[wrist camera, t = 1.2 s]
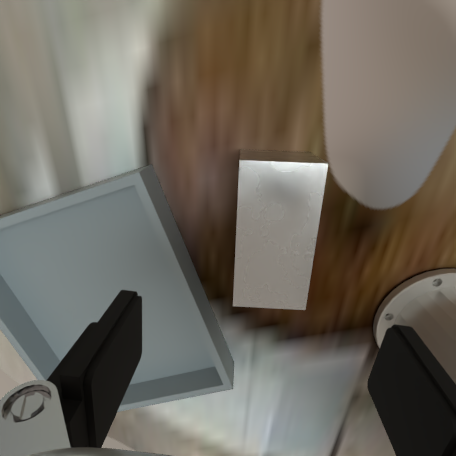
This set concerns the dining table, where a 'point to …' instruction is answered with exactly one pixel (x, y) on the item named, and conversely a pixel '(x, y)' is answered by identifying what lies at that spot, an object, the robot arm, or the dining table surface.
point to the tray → (110, 286)
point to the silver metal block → (276, 227)
